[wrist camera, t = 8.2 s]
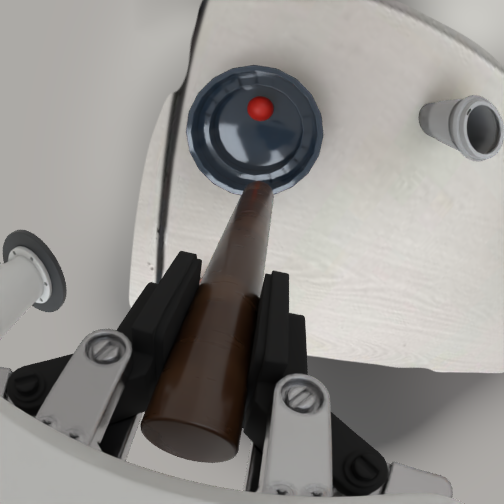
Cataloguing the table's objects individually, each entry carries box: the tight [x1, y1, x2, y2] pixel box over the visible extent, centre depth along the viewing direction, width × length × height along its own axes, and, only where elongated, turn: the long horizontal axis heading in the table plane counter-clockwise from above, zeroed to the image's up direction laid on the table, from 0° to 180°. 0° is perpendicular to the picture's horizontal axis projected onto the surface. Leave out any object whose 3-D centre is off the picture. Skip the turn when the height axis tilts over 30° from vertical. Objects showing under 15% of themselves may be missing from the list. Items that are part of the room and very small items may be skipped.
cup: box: [419, 95, 504, 161], centre depth 25 cm, size 7×7×12 cm
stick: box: [141, 181, 274, 463], centre depth 13 cm, size 2×2×18 cm
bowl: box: [186, 65, 323, 195], centre depth 32 cm, size 14×14×6 cm
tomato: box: [247, 96, 274, 121], centre depth 31 cm, size 3×3×3 cm
